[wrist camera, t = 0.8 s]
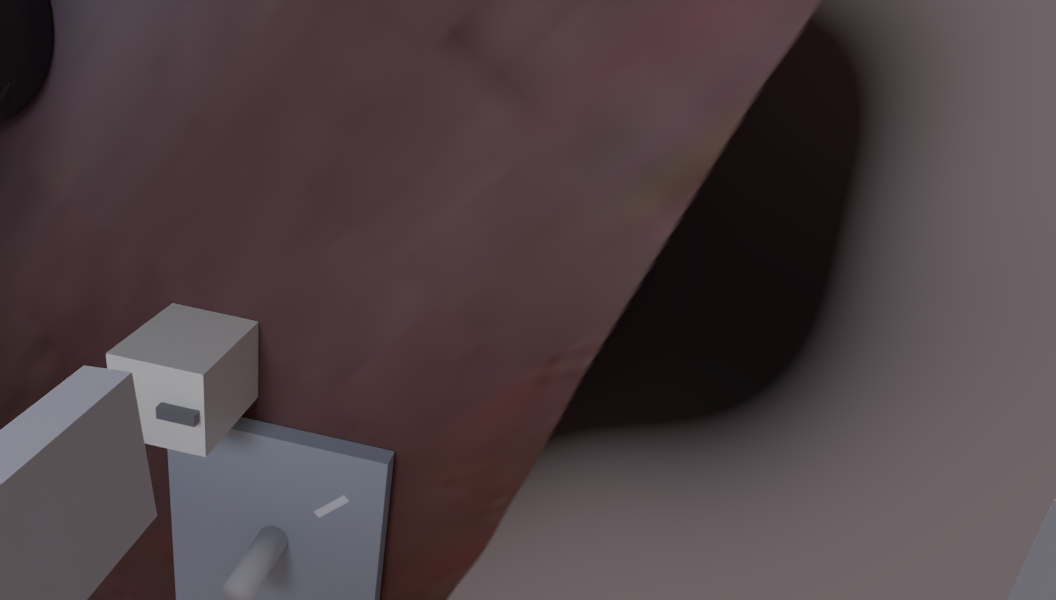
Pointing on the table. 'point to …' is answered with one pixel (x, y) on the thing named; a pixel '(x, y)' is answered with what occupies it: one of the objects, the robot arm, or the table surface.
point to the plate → (279, 516)
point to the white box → (190, 375)
